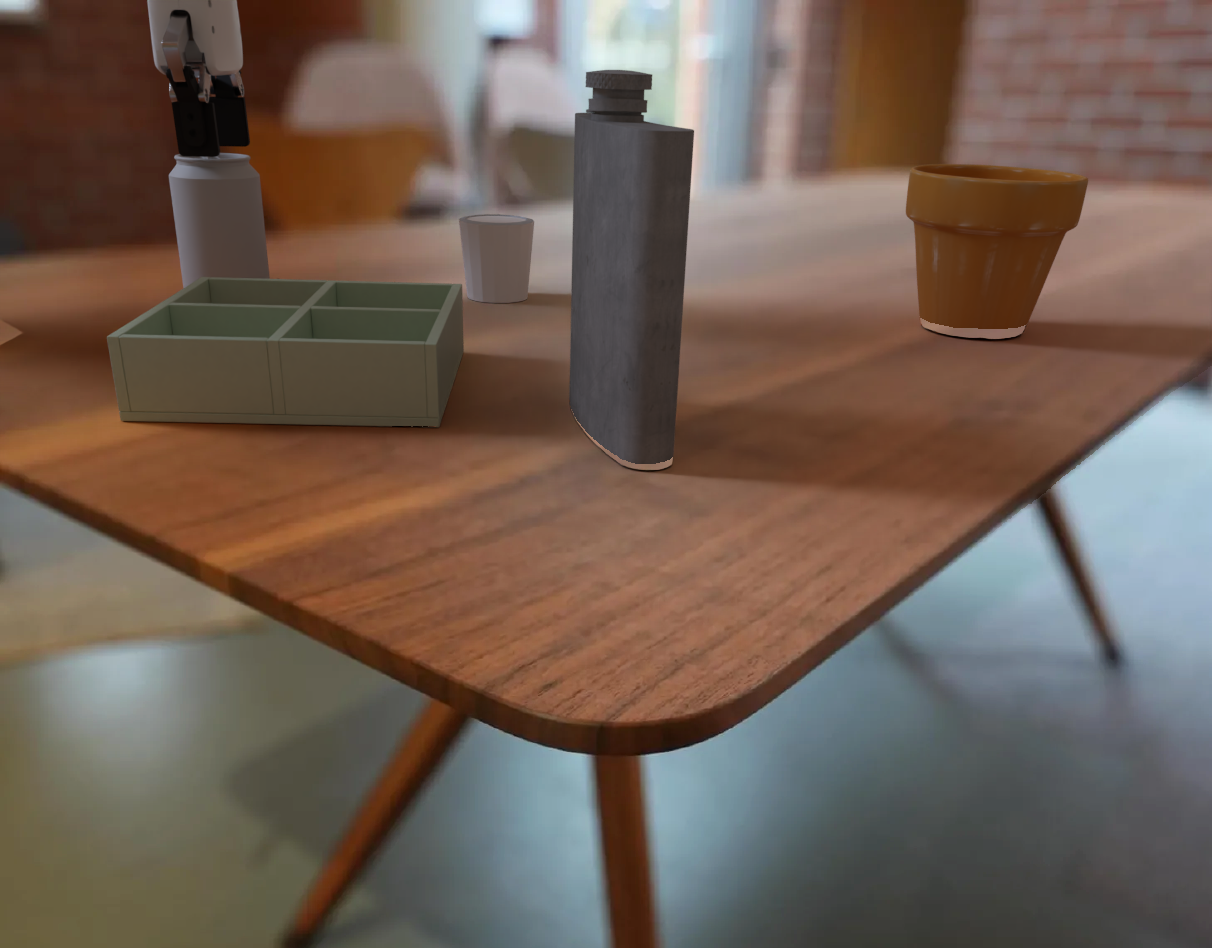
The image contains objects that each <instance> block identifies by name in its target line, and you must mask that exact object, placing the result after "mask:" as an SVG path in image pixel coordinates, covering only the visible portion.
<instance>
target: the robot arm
mask: <svg viewBox="0 0 1212 948" xmlns="http://www.w3.org/2000/svg"><path fill="white" fill-rule="evenodd" d="M146 3H147V10H148V18H149V19H148V20H149V29H150V30H149V31H150V39H151V48H152V56H153V62H154V66H155V68H156V69H157V70H158V72H159V73H161V74H162V75H165V76H166V78H167V79H168V81H169V88H168V93H169V99H170V101H171V108H172V109H171V110H172V116H173V122H174V130H175V137H176V144H177V151H178V154H180V155H181V156H189V157H216V156H218V155H219V154H220V153H221V147H240V148H241V147H242V148H244V147H248V146H249V145H250V144H251V137H250V130H249V121H248V113H247V104H246V97H245V87H244V84H243V80H242V77H241V74H242V68H243V65H244V54H243V53H244V52H243V51H244V50H243V41H242V40H243V39H242V30H241V22H240V14H239V9H238V0H147V1H146Z"/></svg>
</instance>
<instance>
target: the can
mask: <svg viewBox="0 0 1212 948" xmlns="http://www.w3.org/2000/svg"><path fill="white" fill-rule="evenodd" d="M173 159H174V160H175V161H176V164H175V166H174V167H173V168H172V170H171V171H170V172H169V174H168V183H169V189H170V196H171V204H172V210H173V219H174V227H175V228H174V229H175V234H176V242H177V250H178V256H179V264H180V271H181V280H182V281H181V282H182V289H183V288H185V287H187V286H188V285H190V284H191V283H193V282H194V281H196V280H198V279H199V278H201V277H210V278H211V277H222V278H259V279H271V278H270V277H271V276H270V268H269V258H268V257H269V256H268V247H267V238H266V227H265V218H264V206H263V196H262V195H263V194H262V187H261V186H262V185H261V175H260V173H259V172H258V171H257V170H256V168H254V167H253V166H252V165H251V163H250V160H251V156H250V155H248V154H243V153H230V152H220V154H219V155H218V156H216V157H189V156H181V155H180V154H179V153H178V154H175V155H174V157H173Z"/></svg>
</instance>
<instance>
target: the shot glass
mask: <svg viewBox="0 0 1212 948" xmlns="http://www.w3.org/2000/svg"><path fill="white" fill-rule="evenodd" d="M458 225H459V234H460V241H461V242H460V243H461V252H462V261H463V270H464V271H463V272H464V281H465V288H466V296H467V299H469V300H472V301H475V302H480V303H490V304H509V303H518V302H522V301H526V299H528V295H529V287H530V276H531V275H530V273H531V264H532V253H533V242H534V240H533V239H534V231H535V220H534V219H532V218H529V217H525V216H520V215H513V214H499V213H497V214H495V213H494V214H493V213H491V214H489V213H486V214H473V215H466V216H462V217H459V218H458Z"/></svg>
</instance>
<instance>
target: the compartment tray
mask: <svg viewBox="0 0 1212 948" xmlns="http://www.w3.org/2000/svg"><path fill="white" fill-rule="evenodd" d="M463 301H464V300H463V283H449V282H448V283H444V282H412V281H411V282H410V281H409V282H407V281H404V282H403V281H370V280H369V281H367V280H335V279H334V280H333V279H331V280H329V279H328V280H326V279H297V278H296V279H295V278H293V279H292V278H270V279H259V278H222V277H211V278H210V277H201V278H199V279H198V280H196V281H194V282H193V283H191V284H190V285H188V286H187V287H185V288H183V287H182V288H181V289H180V290H179V291H177V292H175V293H174V294H172V295H171V296H169V297H167V298H166V299H164V300H162V301H161V302H159V303H157V304H156V305H154V307H153V306H152V307H151V308H150V309H148V310H147V311H145V312H143V313H142V314H140V315H139V316H137V317H135V318H134V319H132V320H131V321H129V322H127V323H126V324H125V325H123V326H121V327H120V328H118V329H116V330H114V331H113V332H112V333H110V334H109V335H107V336H106V341H107V348H108V352H109V360H110V366H111V370H112V377H113V383H114V389H115V395H116V402H117V407H118V408H117V409H118V411H119V413H118V414H119V419H120V421H121V422H146V423H147V422H151V423H155V422H157V423H195V424H196V423H201V424H204V423H205V424H248V425H249V424H251V425H252V424H254V425H293V426H295V425H297V426H300V425H301V426H343V427H344V426H346V427H347V426H348V427H349V426H350V427H392V426H411V427H410V428H414V427H413V426H422V427H421V428H424V427H423V426H428V427H427V428H430V427H429V426H436V427H435V428H440V426H441V423H442V420H443V416H444V413H445V411H446V407H447V404H448V401H449V398H450V395H451V392H452V389H453V386H454V383H455V380H456V376H457V373H458V371H459V367H460V364H461V361H462V358H463V355H464V352H465V347H464V346H465V345H464V344H465V342H464V341H465V340H464V307H463V305H464V303H463Z"/></svg>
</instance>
